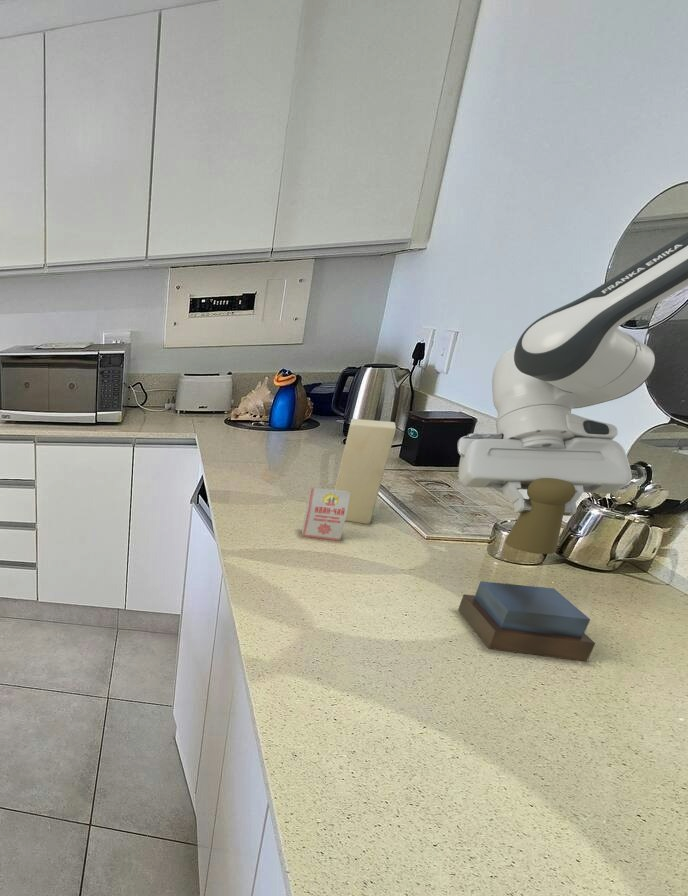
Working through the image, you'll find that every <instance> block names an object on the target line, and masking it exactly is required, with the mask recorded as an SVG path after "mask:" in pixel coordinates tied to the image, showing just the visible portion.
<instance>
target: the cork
mask: <svg viewBox="0 0 688 896" xmlns="http://www.w3.org/2000/svg"><path fill="white" fill-rule="evenodd" d="M526 494H527V496H528V499H531V505H532V510H531V511H528V512H526V513H519V515H518V517H517V519H516V520H515V523H514V524H513V526H512V527H511V530H510V531H509V533H508V535H507V537H506V538H505V540H504V543H505V545H507V546H508V547H510V548H513V549H514V550H518V551H521V552H525V553H530V554H538V555H552V554H555V553H556V552H557V549H558V544H559V539H560V535H561V528H562V525H563V518H564V515H563V514H564V509H565V504H566V503H568V502H569V501H570V500H571V499H572V498H573V497H574V495H575V487H574V485H573V484H572V483H570V482H568V481H565V480H560V479H554V478H539V479H535V480H534V481H533V482H531V483H530V485H529V486H528V489H527V490H526Z"/></svg>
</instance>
